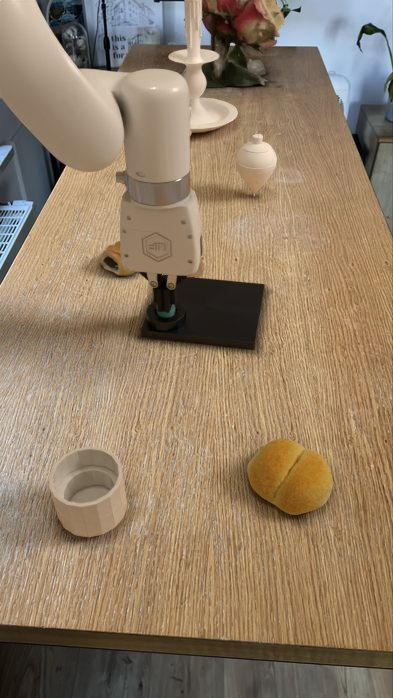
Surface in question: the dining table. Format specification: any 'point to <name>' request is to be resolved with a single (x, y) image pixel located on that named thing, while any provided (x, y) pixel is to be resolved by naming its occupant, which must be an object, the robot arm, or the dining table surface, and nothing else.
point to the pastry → (114, 260)
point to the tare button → (164, 314)
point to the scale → (210, 314)
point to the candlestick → (200, 76)
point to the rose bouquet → (239, 39)
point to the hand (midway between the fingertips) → (166, 306)
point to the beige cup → (88, 491)
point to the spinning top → (256, 162)
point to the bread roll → (290, 476)
